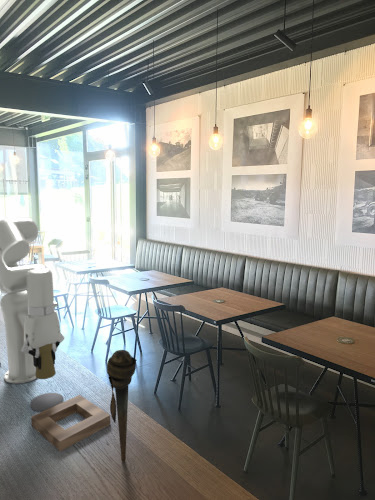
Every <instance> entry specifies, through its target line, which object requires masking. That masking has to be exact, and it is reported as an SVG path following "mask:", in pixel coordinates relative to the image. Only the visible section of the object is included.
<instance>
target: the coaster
mask: <svg viewBox="0 0 375 500" xmlns="http://www.w3.org/2000/svg"><path fill="white" fill-rule="evenodd" d="M63 402H64V396H63V395H62V394H61V393H58V392H57V393H56V392H46V393H42V394H40V395H36V396H35V397H33V399H32V400H30V403H29V406H30V409H31V410H32V411H34V412H38V413H40V412H43V411H45V410H47V409H49V408H52V407H54V406H56V405H58V404H60V403H63Z"/></svg>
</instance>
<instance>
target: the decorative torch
mask: <svg viewBox="0 0 375 500" xmlns="http://www.w3.org/2000/svg"><path fill="white" fill-rule="evenodd" d="M136 367H137V359H136V358H135V357H133V356H132V355H131V353H130V352H129V351H128V350H125V349H120V350H119V349H118V350H115V352H113V353H112V355H111V356H110V357H109V358H108V359H107V364H106V373H107V375H108V381H109V383H110V387H111V388H110V389H111V393H112V394H111V398H110V399H111V400H110V404H109V405H110V406H109V411H110V417H111V418H112V420H113V423H114V424H116V419H117V424H118V425H117V426H118V434H119V445H120V456H121V457H120V459H121V460H120V461H122V462H124V463H125V462H126V459H127V458H126V456H127V430H128V408H129V407H128V406H129V405H128V404H129V403H128V402H129V385H130V384H131V383H132V379H133V376H134V374H135V372H136V369H137V368H136ZM114 390H115V393H114Z"/></svg>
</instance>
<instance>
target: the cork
mask: <svg viewBox="0 0 375 500" xmlns="http://www.w3.org/2000/svg"><path fill="white" fill-rule="evenodd" d="M52 347H53V345H52V344H47V345H44V346H42V347H39V356H40V357H41V369H40V370H39V369H38V367H36V375H35V377H36V379H38V380H47V379H50V378H53V377H54V376H55V375H56V374H57V373H56V367H55V364H53V359H52V354H51V350H52Z"/></svg>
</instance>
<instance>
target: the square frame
mask: <svg viewBox="0 0 375 500" xmlns="http://www.w3.org/2000/svg"><path fill="white" fill-rule="evenodd" d="M75 414H78V415H79V416H81V417H82V418H83V420H81V421H79V422H77V423H75V424H73V425H71V426H69V427H67V428H63V427H62V426H61V425H60V424H59V423H58V422H60V421H62V420H64V419H66V418H68V417H70V416H72V415H75ZM30 421H31V427H32V428H33V429H35V430H36V431H37V433H39V434H40V435H41V436H42V437H43V438H44V439H45V440H47V441H48V442H49V443H50V444H51V445H52V446H53V447H54V448H56V449H57V450H58V451H59V452H63V451H64V450H66V449H68V448H71V447H72V446H73V445H74V446H75V444H78V443H79V442H81V441H83V440H84V439H86V438H88V437H90V436H92V435H94V434H95V433H97V432H100V431H101V430H104V429H105V428H107V427H108V426H110V425H111V414H109V413H108V412H106V411H104V410H103V409H102V408H100V407H98V406H97V405H95V404H94V403H92V402H91V401H90V400H88V399H87V398H86V397H84V396H82V395H81V394H78V395H75V396H74V397H72V398H70V399H67V400H65V401H63V403H60V404H58V405H56V406H54V407H52V408H49V409H47V410H45V411H43V412H38V413H36V414H34V415H31V416H30Z"/></svg>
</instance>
